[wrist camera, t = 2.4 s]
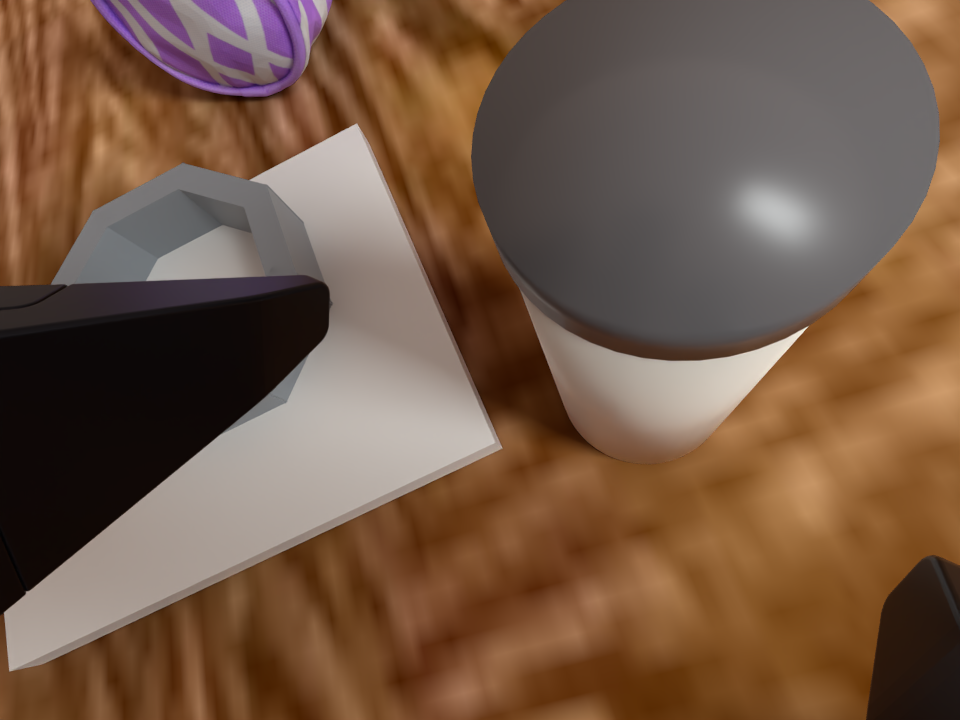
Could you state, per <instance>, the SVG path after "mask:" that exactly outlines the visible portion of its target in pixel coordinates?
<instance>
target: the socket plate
mask: <svg viewBox="0 0 960 720" xmlns="http://www.w3.org/2000/svg"><path fill="white" fill-rule="evenodd" d="M286 275H308V276H311V277H313V278H315V279H318V280H320V281H322V282H324V283H326V285H327V286H328V287H329V290H330V308H329V328H328V332H327V334H326V336H325V338H324V339H323V340H322V342H321V343H320V344H319V345H318V346H317V347H316V348H315V349H314V350H313V351H312V352H311V353H310V354H309V355H308V356H307V357H306V358H305V359H304V360H303V361H302V362H301V363H300V364H299V365H298V366H297V367H296V368H295V369H294V370H293V371H292V372H291V373H290V374H289V375H288V376H287V377H286V378H285V379H284V380H283V381H282V382H281V383H280V384H279V385H278V386H277V387H276V388H275V389H274V390H273V391H272V392H271V393H270V394H268V395H267V396H266V397H265V398H264V399H263V400H262V401H261V402H260V403H258V404H257V405H256V406H255V407H254V408H252V409H251V410H250V411H249V412H248V413H246V414H245V415H244V416H243V417H241V418H240V419H239V420H238V421H237V422H235V423H234V424H233V425H232V426H230V427H229V428H228V429H227V430H226V431H224V432H223V433H222V434H221V435H219V436H218V437H217V438H216V439H215V440H213V441H212V442H211V443H210V444H208V445H207V446H206V447H205V448H204V449H202V450H201V451H200V452H199V453H198V454H196V455H195V456H194V457H193V458H191V459H190V460H189V461H188V462H187V463H185V464H184V465H183V466H182V467H180V468H179V469H178V470H177V471H176V472H174V473H173V474H172V475H171V476H169V477H168V478H167V479H166V480H165V481H163V482H162V483H161V484H160V485H158V486H157V487H156V488H155V489H154V490H152V491H151V492H150V493H149V494H147V495H146V496H145V497H144V498H143V499H141V500H140V501H139V502H138V503H136V504H135V505H134V506H133V507H132V508H130V509H129V510H128V511H127V512H125V513H124V514H123V515H122V516H121V517H119V518H118V519H117V520H116V521H114V522H113V523H112V524H111V525H110V526H108V527H107V528H106V529H105V530H103V531H102V532H101V533H100V534H99V535H97V536H96V537H95V538H94V539H92V540H91V541H90V542H89V543H88V544H86V545H85V546H84V547H83V548H82V549H80V550H79V551H78V552H77V553H75V554H74V555H73V556H72V557H71V558H69V559H68V560H67V561H66V562H64V563H63V564H62V565H61V566H60V567H58V568H57V569H56V570H55V571H53V572H52V573H51V574H50V575H49V576H47V577H46V578H45V579H44V580H42V581H41V582H40V583H39V584H38V585H36V586H35V587H34V588H33V589H31V590H30V591H26V595H25V596H24V597H22V598H21V599H20V600H19V601H17V602H16V603H15V604H14V605H13V606H11V607H10V608H9V609H8V610H6V611H5V612H4V617H5V628H6V639H7V650H8V661H9V671H14V670H19V669H23V668H28V667H33V666H37V665H42V664H44V663H47V662H49V661H51V660H53V659H55V658H57V657H59V656H61V655H64V654H66V653H68V652H70V651H72V650H74V649H76V648H78V647H81V646H83V645H85V644H87V643H89V642H91V641H93V640H96V639H98V638H100V637H102V636H104V635H106V634H108V633H110V632H113V631H115V630H117V629H119V628H121V627H123V626H125V625H127V624H130V623H132V622H134V621H136V620H138V619H140V618H142V617H145V616H147V615H149V614H151V613H153V612H155V611H157V610H159V609H162V608H164V607H166V606H168V605H170V604H172V603H174V602H176V601H179V600H181V599H183V598H185V597H187V596H189V595H191V594H194V593H196V592H198V591H200V590H202V589H204V588H206V587H208V586H211V585H213V584H215V583H217V582H219V581H221V580H223V579H225V578H228V577H230V576H232V575H234V574H236V573H238V572H240V571H243V570H245V569H247V568H249V567H251V566H253V565H255V564H257V563H260V562H262V561H264V560H266V559H268V558H270V557H272V556H274V555H277V554H279V553H281V552H283V551H285V550H287V549H289V548H292V547H294V546H296V545H298V544H300V543H302V542H304V541H306V540H309V539H311V538H313V537H315V536H317V535H319V534H321V533H323V532H326V531H328V530H330V529H332V528H334V527H336V526H338V525H341V524H343V523H345V522H347V521H349V520H351V519H353V518H355V517H358V516H360V515H362V514H364V513H366V512H368V511H370V510H372V509H375V508H377V507H379V506H381V505H383V504H385V503H387V502H390V501H392V500H394V499H396V498H398V497H400V496H402V495H404V494H407V493H409V492H411V491H413V490H415V489H417V488H419V487H421V486H424V485H426V484H428V483H430V482H432V481H434V480H436V479H439V478H441V477H443V476H445V475H447V474H449V473H451V472H453V471H456V470H458V469H460V468H462V467H464V466H466V465H468V464H470V463H473V462H475V461H477V460H479V459H481V458H483V457H485V456H488V455H490V454H492V453H494V452H496V451H498V450H500V449H502V446H501V444H500V442H499V439H498V437H497V435H496V432H495V430H494V428H493V426H492V423H491V421H490V419H489V416H488V414H487V412H486V410H485V407H484V405H483V403H482V400H481V398H480V396H479V394H478V391H477V389H476V387H475V384H474V382H473V380H472V378H471V375H470V373H469V371H468V368H467V366H466V364H465V362H464V359H463V357H462V355H461V352H460V350H459V348H458V346H457V343H456V341H455V339H454V336H453V334H452V332H451V330H450V327H449V325H448V323H447V320H446V318H445V316H444V314H443V311H442V309H441V307H440V304H439V302H438V300H437V298H436V295H435V293H434V291H433V288H432V286H431V284H430V282H429V279H428V277H427V275H426V272H425V270H424V268H423V266H422V263H421V261H420V259H419V256H418V254H417V252H416V250H415V247H414V245H413V243H412V240H411V238H410V236H409V234H408V231H407V229H406V227H405V224H404V222H403V220H402V218H401V215H400V213H399V211H398V208H397V206H396V204H395V202H394V199H393V197H392V195H391V192H390V190H389V188H388V186H387V183H386V181H385V179H384V176H383V174H382V172H381V170H380V167H379V165H378V163H377V160H376V158H375V156H374V154H373V151H372V149H371V147H370V144H369V142H368V141H367V139H366V137H365V136H364V134H363V133H362V131H361V129H360V128H359V126H358V125H357V124H355V125H353V126H351V127H349V128H347V129H346V130H344V131H342V132H340V133H338V134H336V135H334V136H332V137H330V138H328V139H327V140H325V141H323V142H321V143H319V144H317V145H315V146H313V147H311V148H309V149H307V150H306V151H304V152H302V153H300V154H298V155H296V156H294V157H292V158H290V159H288V160H287V161H285V162H283V163H281V164H279V165H277V166H275V167H273V168H271V169H269V170H268V171H266V172H264V173H262V174H260V175H258V176H256V177H254V178H252V179H250V180H246V179H242V178H238V177H234V176H230V175H227V174H223V173H219V172H215V171H211V170H207V169H203V168H199V167H195V166H192V165H188V164H185V163H182V164H180V165H179V166H177V167H175V168H173V169H171V170H169V171H167V172H165V173H164V174H162V175H160V176H158V177H156V178H154V179H152V180H150V181H149V182H147V183H145V184H143V185H141V186H139V187H137V188H135V189H134V190H132V191H130V192H128V193H126V194H124V195H122V196H120V197H119V198H117V199H115V200H113V201H111V202H109V203H107V204H105V205H104V206H102V207H100V208H98V209H96V210H94V211H92V214H91V216H90V217H89V219H88V221H87V223H86V224H85V226H84V228H83V230H82V231H81V233H80V235H79V236H78V238H77V240H76V242H75V243H74V245H73V247H72V249H71V250H70V252H69V254H68V255H67V257H66V259H65V261H64V262H63V264H62V266H61V268H60V269H59V271H58V273H57V274H56V276H55V278H54V280H53V281H52V283H51V285H55V284H66V285H67V286H69V285H71V284H83V283H109V282H134V281H159V280H185V279H210V278H235V277H261V276H286Z"/></svg>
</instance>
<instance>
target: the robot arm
mask: <svg viewBox="0 0 960 720" xmlns="http://www.w3.org/2000/svg"><path fill="white" fill-rule="evenodd" d="M329 308H330V290H329V287H328V286H327V285H326V283H324V282H322V281H320V280H318V279H315V278H313V277H311V276H308V275H286V276H261V277H235V278H210V279H185V280H159V281H134V282H109V283H83V284H71V285H69V286H67V285H66V284H55V285H27V286H0V615H2V614H3V613H4V612H5V611H6V610H8V609H9V608H10V607H11V606H13V605H14V604H15V603H16V602H17V601H19V600H20V599H21V598H22V597H24V596H25V595H26V591H30V590H31V589H33V588H34V587H35V586H36V585H38V584H39V583H40V582H41V581H42V580H44V579H45V578H46V577H47V576H49V575H50V574H51V573H52V572H53V571H55V570H56V569H57V568H58V567H60V566H61V565H62V564H63V563H64V562H66V561H67V560H68V559H69V558H71V557H72V556H73V555H74V554H75V553H77V552H78V551H79V550H80V549H82V548H83V547H84V546H85V545H86V544H88V543H89V542H90V541H91V540H92V539H94V538H95V537H96V536H97V535H99V534H100V533H101V532H102V531H103V530H105V529H106V528H107V527H108V526H110V525H111V524H112V523H113V522H114V521H116V520H117V519H118V518H119V517H121V516H122V515H123V514H124V513H125V512H127V511H128V510H129V509H130V508H132V507H133V506H134V505H135V504H136V503H138V502H139V501H140V500H141V499H143V498H144V497H145V496H146V495H147V494H149V493H150V492H151V491H152V490H154V489H155V488H156V487H157V486H158V485H160V484H161V483H162V482H163V481H165V480H166V479H167V478H168V477H169V476H171V475H172V474H173V473H174V472H176V471H177V470H178V469H179V468H180V467H182V466H183V465H184V464H185V463H187V462H188V461H189V460H190V459H191V458H193V457H194V456H195V455H196V454H198V453H199V452H200V451H201V450H202V449H204V448H205V447H206V446H207V445H208V444H210V443H211V442H212V441H213V440H215V439H216V438H217V437H218V436H219V435H221V434H222V433H223V432H224V431H226V430H227V429H228V428H229V427H230V426H232V425H233V424H234V423H235V422H237V421H238V420H239V419H240V418H241V417H243V416H244V415H245V414H246V413H248V412H249V411H250V410H251V409H252V408H254V407H255V406H256V405H257V404H258V403H260V402H261V401H262V400H263V399H264V398H265V397H266V396H267V395H268V394H270V393H271V392H272V391H273V390H274V389H275V388H276V387H277V386H278V385H279V384H280V383H281V382H282V381H283V380H284V379H285V378H286V377H287V376H288V375H289V374H290V373H291V372H292V371H293V370H294V369H295V368H296V367H297V366H298V365H299V364H300V363H301V362H302V361H303V360H304V359H305V358H306V357H307V356H308V355H309V354H310V353H311V352H312V351H313V350H314V349H315V348H316V347H317V346H318V345H319V344H320V343H321V342H322V340H323V339H324V338H325V336H326V334H327V332H328V328H329ZM866 720H960V566H959V565H957V564H955V563H952V562H950V561H948V560H946V559H943V558H941V557H939V556H936V555H932V556H927V557H925V558H923V559H922V560H921V561H920V562H919V563H918V564H917V565H916V566H915V567H914V568H913V569H912V570H911V571H910V572H909V573H908V575H907V576H906V577H905V578H904V579H903V580H902V581H901V582H900V583H899V584H898V585H897V587H896V588H895V589H894V590H893V591H892V592H891V593H890V594H889V596H888V597H887V599H886V601H885V603H884V605H883V608H882V612H881V618H880V625H879V632H878V639H877V646H876V653H875V660H874V667H873V674H872V680H871V687H870V694H869V701H868V708H867V717H866Z"/></svg>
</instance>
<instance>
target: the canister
mask: <svg viewBox="0 0 960 720" xmlns="http://www.w3.org/2000/svg"><path fill="white" fill-rule="evenodd" d="M939 142H940V136H939V112H938V107H937V102H936V97H935V93H934V88H933V86H932V83H931V80H930V78H929V75H928V73H927V70H926V68H925V65H924V63H923V62H922V60H921V58H920V57H919V55H918V53H917V52H916V50H915V48H914V47H913V45H912V43H911V42H910V40H909V39H908V38H907V37H906V36H905V35H904V33H903V32H902V31H901V30H900V29H899V28H898V26H897V25H896V24H895V23H894V22H893V21H892V20H891V19H890V18H889V17H888V16H887V15H886V14H884V13H883V12H882V11H881V10H880V9H879V8H878V7H876V6H875V5H874V4H873V3H872V2H870V1H869V0H566V1H565V2H563V3H562V4H560V5H559V6H558V7H556V8H555V9H554V10H552V11H551V12H550V13H548V14H547V15H546V16H544V17H543V18H542V19H541V20H540V21H539V22H538V23H536V24H535V25H534V26H533V27H532V28H531V29H530V30H529V31H528V32H527V33H525V35H524V36H523V37H522V38H521V39H520V40H519V41H518V43H517V44H516V45H515V46H514V47H513V48H512V49H511V51H510V52H509V53H508V55H507V56H506V58H505V59H504V60H503V62H502V63H501V65H500V66H499V68H498V69H497V71H496V72H495V74H494V76H493V78H492V80H491V82H490V84H489V86H488V88H487V90H486V91H485V94H484V97H483V100H482V102H481V105H480V108H479V111H478V114H477V118H476V123H475V128H474V132H473V141H472V155H471V159H472V172H473V181H474V186H475V190H476V194H477V198H478V202H479V205H480V207H481V210H482V212H483V215H484V217H485V220H486V222H487V225H488V227H489V230H490V232H491V235H492V237H493V240H494V242H495V244H496V247H497V249H498V252H499V254H500V257H501V259H502V261H503V264H504V265H505V267H506V269H507V270H508V272H509V274H510V275H511V277H512V279H513V280H514V282H515V283H516V285H517V286H518V287H519V288H520V291H521V294H522V296H523V299H524V302H525V304H526V307H527V310H528V312H529V315H530V317H531V320H532V323H533V325H534V328H535V331H536V333H537V336H538V339H539V341H540V344H541V346H542V349H543V352H544V354H545V357H546V360H547V362H548V365H549V368H550V370H551V373H552V375H553V378H554V381H555V383H556V386H557V389H558V391H559V394H560V397H561V399H562V402H563V404H564V407H565V410H566V412H567V414H568V417H569V419H570V421H571V422H572V424H573V426H574V427H575V429H576V430H577V431H578V432H579V434H580V435H581V436H582V437H583V438H584V439H585V440H586V441H587V442H588V443H589V444H591V445H592V446H593V447H594V448H596V449H597V450H599V451H601V452H602V453H604V454H606V455H608V456H610V457H613V458H615V459H618V460H621V461H625V462H629V463H636V464H657V463H663V462H668V461H672V460H675V459H677V458H680V457H683V456H684V455H686V454H688V453H690V452H692V451H693V450H695V449H696V448H697V447H699V446H700V445H701V444H702V443H703V442H704V441H706V440H707V439H708V438H709V437H710V435H711V434H712V433H713V432H714V431H715V430H716V429H717V428H718V427H719V425H720V424H721V423H722V422H723V421H724V420H725V419H726V418H727V416H728V415H729V414H730V413H731V412H732V411H733V410H734V409H735V408H736V406H737V405H738V404H739V403H740V402H741V401H742V400H743V399H744V398H745V396H746V395H747V394H748V393H749V392H750V391H751V390H752V389H753V387H754V386H755V385H756V384H757V383H758V382H759V381H760V380H761V379H762V377H763V376H764V375H765V374H766V373H767V372H768V371H769V370H770V368H771V367H772V366H773V365H774V364H775V363H776V362H777V361H778V360H779V358H780V357H781V356H782V355H783V354H784V353H785V352H786V351H787V350H788V348H789V347H790V346H791V345H792V344H793V343H794V342H795V341H796V339H797V338H798V337H799V336H800V335H801V334H802V333H803V332H804V331H805V329H806V328H807V327H808V326H809V325H811V324H812V323H814V322H815V321H817V320H818V319H819V318H821V317H822V316H823V315H825V314H826V313H827V312H829V311H830V310H832V309H833V308H834V307H835V306H836V305H837V304H838V303H839V302H840V301H841V300H842V299H843V298H844V297H845V296H847V295H848V294H849V293H850V292H851V291H852V290H853V289H854V288H855V287H856V286H857V284H858V283H859V282H860V281H861V280H862V279H863V278H864V277H865V276H866V275H867V274H868V273H869V272H870V271H871V270H872V269H873V267H874V266H875V265H876V264H877V263H878V262H879V261H880V260H881V259H882V258H883V257H884V256H885V255H886V254H887V253H888V252H889V250H890V249H891V248H892V247H893V246H894V245H895V244H896V242H897V241H898V240H899V238H900V237H901V236H902V234H903V233H904V232H905V230H906V229H907V228H908V227H909V225H910V224H911V223H912V221H913V219H914V217H915V215H916V214H917V212H918V210H919V208H920V206H921V204H922V202H923V201H924V199H925V197H926V195H927V192H928V189H929V186H930V183H931V180H932V177H933V174H934V171H935V168H936V161H937V155H938V148H939Z"/></svg>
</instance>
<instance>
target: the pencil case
mask: <svg viewBox="0 0 960 720" xmlns="http://www.w3.org/2000/svg"><path fill="white" fill-rule="evenodd" d="M91 2H92V3H93V4H94V6H95V7H96V8H97V9H98V11H99V12H100V13H101V14H102V16H103V17H104V18H105V19H106V20H107V21H108V22H109V24H110V25H111V26H112V27H113V28H114V29H115V30H116V31H117V32H118V33H119V34H120V35H121V36H122V37H123V38H125V39H126V40H127V41H128V42H129V43H130V44H131V45H132V46H133V47H134V48H135V49H136V50H138V51H139V52H140V53H141V54H143V55H144V56H145V57H146V58H148V59H149V60H150V61H152V62H153V63H154V64H156V65H157V66H159V67H160V68H161V69H163V70H164V71H166V72H167V73H169V74H170V75H172V76H174V77H175V78H177V79H179V80H181V81H182V82H184V83H187V84H189V85H191V86H193V87H196V88H199V89H202V90H205V91H209V92H213V93H218V94H224V95H233V96H244V97H265V96H269V95H272V94H275V93H277V92H280V91H282V90H283V89H285V88H287V87H289V86H291V85H292V84H294V83H295V82H296V81H297V80H298V78H299V77H300V76H301V75H302V73H303V72H304V70H305V68H306V66H307V64H308V61H309V55H310V50H311V46H312V45H313V43H314V42H315V41H316V39H317V38H318V36H319V34H320V32H321V29H322V27H323V25H324V23H325V21H326V18H327V16H328V13H329V10H330V7H331V3H332V0H91Z"/></svg>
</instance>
